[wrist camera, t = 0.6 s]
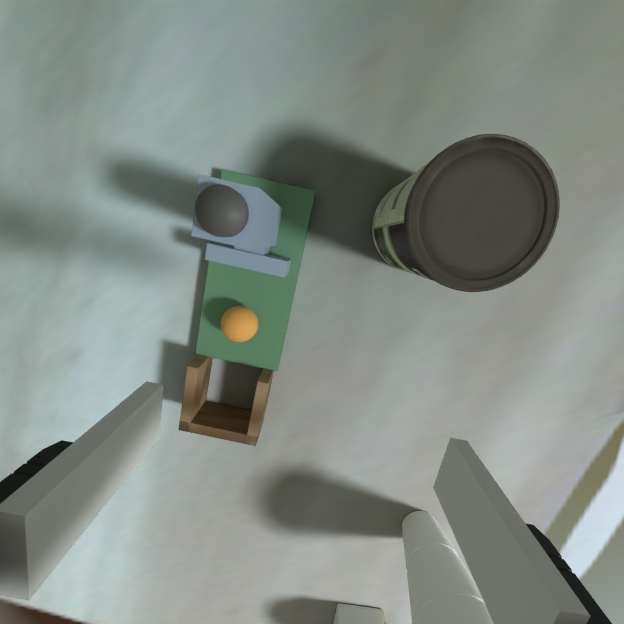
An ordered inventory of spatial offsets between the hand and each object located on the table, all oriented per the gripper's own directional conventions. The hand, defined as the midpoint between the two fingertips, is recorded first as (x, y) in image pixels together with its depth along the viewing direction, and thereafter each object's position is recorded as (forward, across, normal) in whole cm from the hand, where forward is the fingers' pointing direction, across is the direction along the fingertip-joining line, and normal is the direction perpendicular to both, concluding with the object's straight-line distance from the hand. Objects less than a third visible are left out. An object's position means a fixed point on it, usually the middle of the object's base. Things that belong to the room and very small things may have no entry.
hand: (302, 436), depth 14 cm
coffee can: (+24, +10, +12) cm, 29 cm away
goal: (+24, -8, -12) cm, 28 cm away
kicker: (+22, -8, +8) cm, 25 cm away
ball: (+20, -8, -2) cm, 22 cm away
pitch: (+24, -8, +3) cm, 25 cm away
